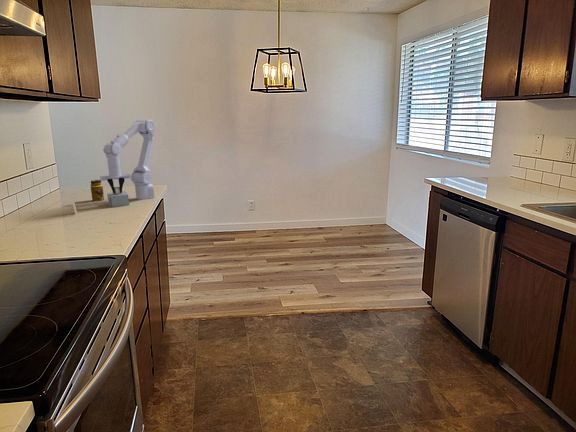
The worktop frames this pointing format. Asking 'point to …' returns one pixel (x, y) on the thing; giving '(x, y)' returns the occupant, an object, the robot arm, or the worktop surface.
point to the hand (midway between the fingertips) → (117, 193)
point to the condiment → (97, 190)
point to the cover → (118, 198)
